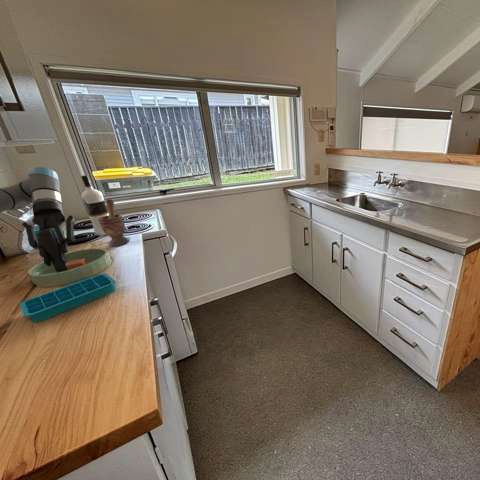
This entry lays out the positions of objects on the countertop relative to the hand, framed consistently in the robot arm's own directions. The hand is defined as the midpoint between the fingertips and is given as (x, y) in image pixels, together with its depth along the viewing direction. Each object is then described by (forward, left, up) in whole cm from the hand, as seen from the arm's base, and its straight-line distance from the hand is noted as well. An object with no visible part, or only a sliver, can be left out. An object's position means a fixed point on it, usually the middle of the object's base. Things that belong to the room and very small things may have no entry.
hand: (55, 262), depth 86 cm
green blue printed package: (-14, +49, -8) cm, 51 cm away
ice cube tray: (+5, -17, -8) cm, 19 cm away
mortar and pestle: (+13, +34, -8) cm, 37 cm away
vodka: (+6, +56, -8) cm, 57 cm away
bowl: (+2, +7, -7) cm, 10 cm away
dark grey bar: (0, +4, -6) cm, 7 cm away
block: (+4, +4, -7) cm, 9 cm away
